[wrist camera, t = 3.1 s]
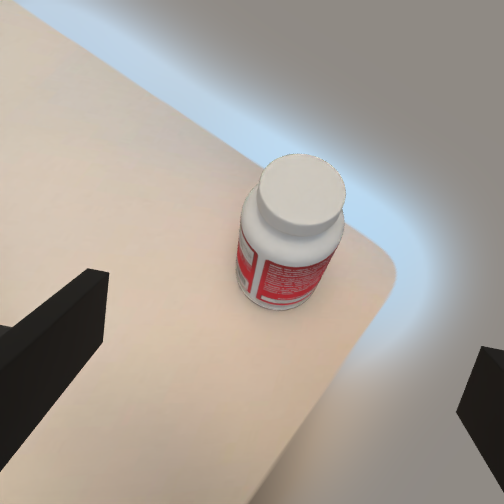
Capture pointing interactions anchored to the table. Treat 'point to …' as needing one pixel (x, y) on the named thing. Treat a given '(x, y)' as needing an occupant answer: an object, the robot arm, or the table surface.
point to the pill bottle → (289, 230)
